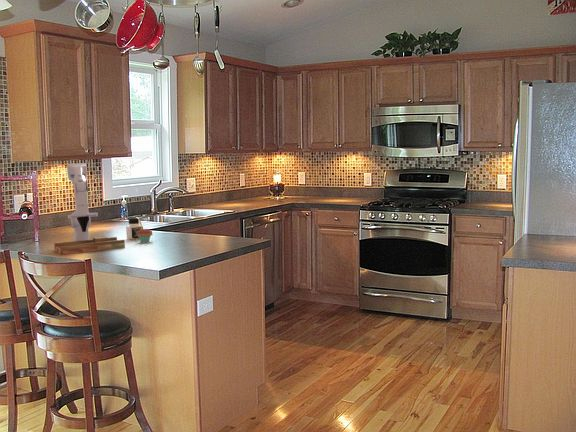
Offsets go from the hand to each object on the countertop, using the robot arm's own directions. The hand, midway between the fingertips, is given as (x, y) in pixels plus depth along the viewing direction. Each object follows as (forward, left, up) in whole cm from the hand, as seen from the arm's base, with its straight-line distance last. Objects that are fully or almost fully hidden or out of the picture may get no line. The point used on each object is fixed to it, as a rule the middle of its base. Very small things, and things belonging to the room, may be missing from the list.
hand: (84, 231), depth 324 cm
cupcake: (-5, +34, -10) cm, 35 cm away
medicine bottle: (-21, +34, -10) cm, 41 cm away
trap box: (0, +3, -9) cm, 10 cm away
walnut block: (0, +8, -7) cm, 11 cm away
